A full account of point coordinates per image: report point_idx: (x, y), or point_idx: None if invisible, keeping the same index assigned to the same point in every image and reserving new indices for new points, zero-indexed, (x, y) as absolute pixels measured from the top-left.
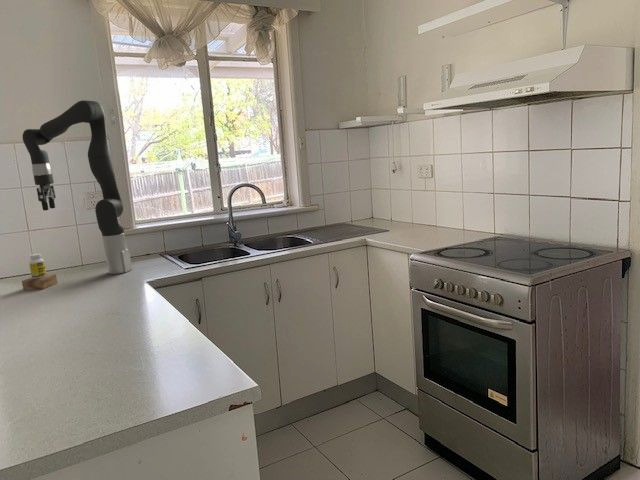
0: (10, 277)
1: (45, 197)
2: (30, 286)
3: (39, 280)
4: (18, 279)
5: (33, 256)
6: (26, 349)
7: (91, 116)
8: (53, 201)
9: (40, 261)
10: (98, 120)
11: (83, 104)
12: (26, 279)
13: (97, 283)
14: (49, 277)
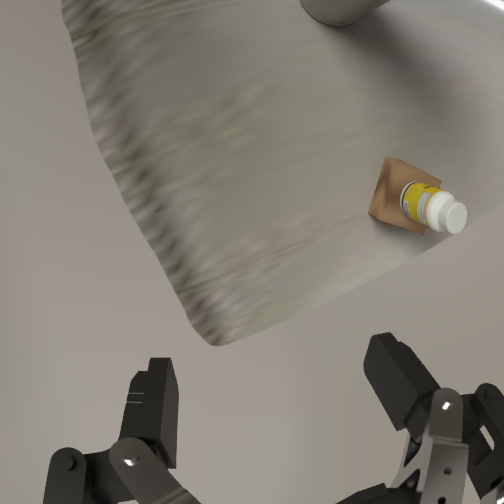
0: (219, 337)
1: (456, 437)
2: None
3: (438, 187)
4: (262, 303)
5: (465, 218)
6: None
7: None
8: (162, 424)
9: (453, 196)
10: None
11: None
12: (414, 228)
13: (432, 56)
14: (420, 170)
